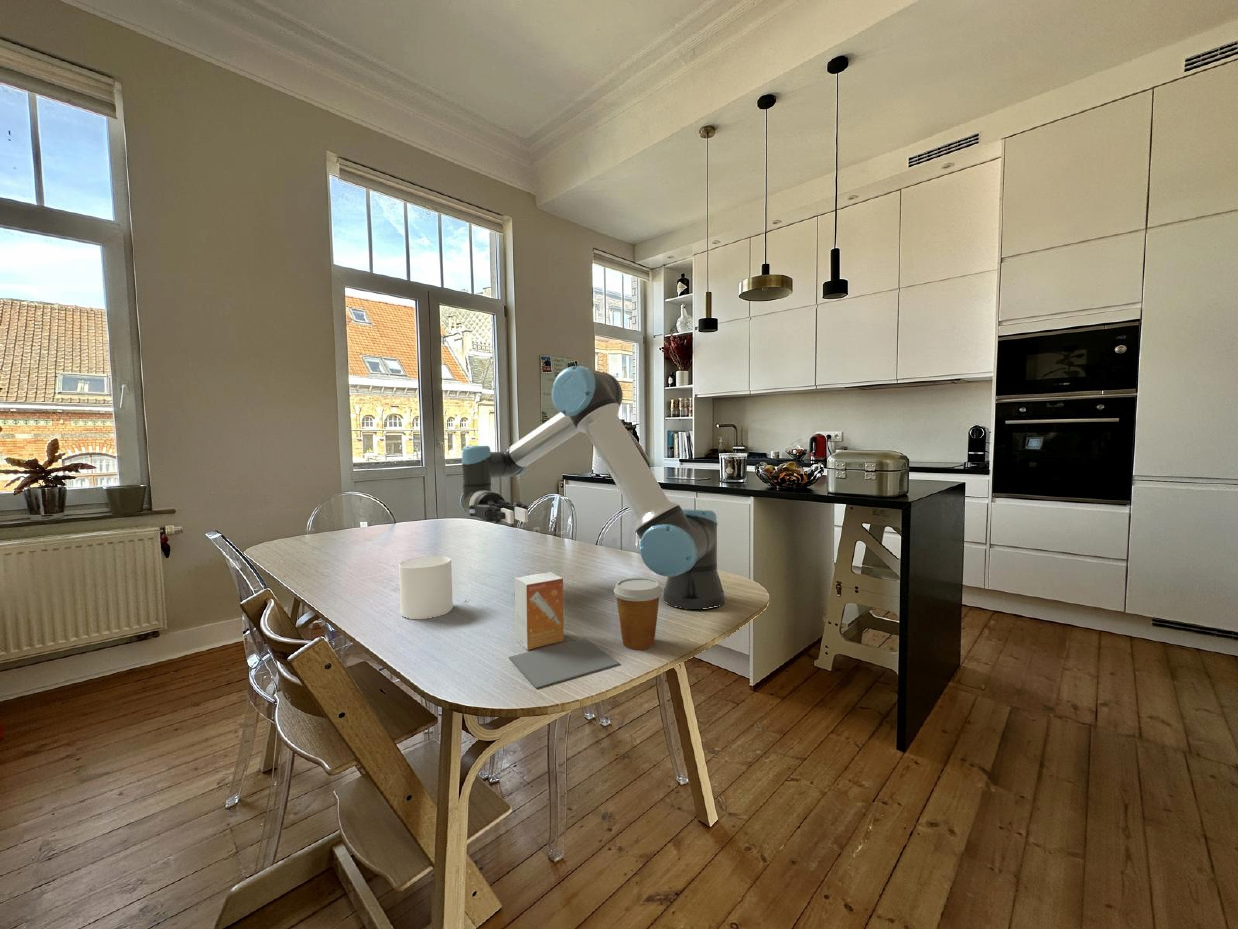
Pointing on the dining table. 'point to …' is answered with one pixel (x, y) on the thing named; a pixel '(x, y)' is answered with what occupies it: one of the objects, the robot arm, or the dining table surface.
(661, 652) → the dining table surface
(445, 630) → the dining table surface
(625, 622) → the disposable coffee cup
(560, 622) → the small box
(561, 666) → the rubber mat
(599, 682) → the dining table surface
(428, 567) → the white cylinder
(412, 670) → the dining table surface
